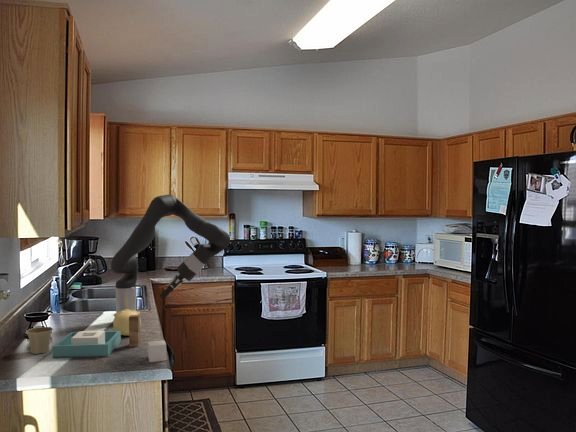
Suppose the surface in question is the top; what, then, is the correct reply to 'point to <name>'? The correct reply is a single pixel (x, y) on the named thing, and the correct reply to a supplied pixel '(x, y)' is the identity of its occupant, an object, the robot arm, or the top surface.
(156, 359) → the light grey cube
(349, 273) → the top surface
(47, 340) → the flower pot
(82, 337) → the socket box
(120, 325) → the sculpture
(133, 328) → the peg
